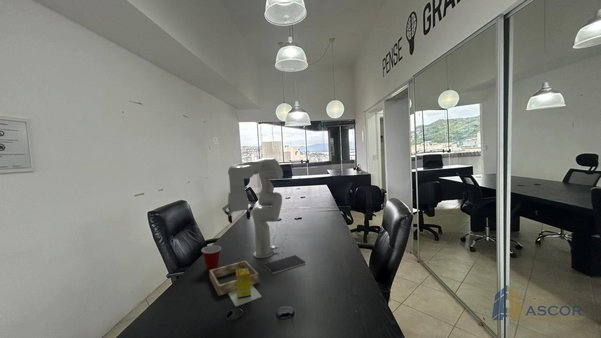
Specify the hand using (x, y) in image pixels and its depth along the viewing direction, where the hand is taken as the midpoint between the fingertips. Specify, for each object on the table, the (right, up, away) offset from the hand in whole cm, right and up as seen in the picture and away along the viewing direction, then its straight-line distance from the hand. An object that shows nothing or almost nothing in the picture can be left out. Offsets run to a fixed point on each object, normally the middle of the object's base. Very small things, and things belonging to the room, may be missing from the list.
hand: (239, 220), depth 131 cm
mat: (+7, -30, -19) cm, 37 cm away
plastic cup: (-18, -30, +11) cm, 37 cm away
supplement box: (+7, -30, -19) cm, 36 cm away
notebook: (+24, -29, +11) cm, 39 cm away
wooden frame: (-2, -30, -5) cm, 31 cm away
